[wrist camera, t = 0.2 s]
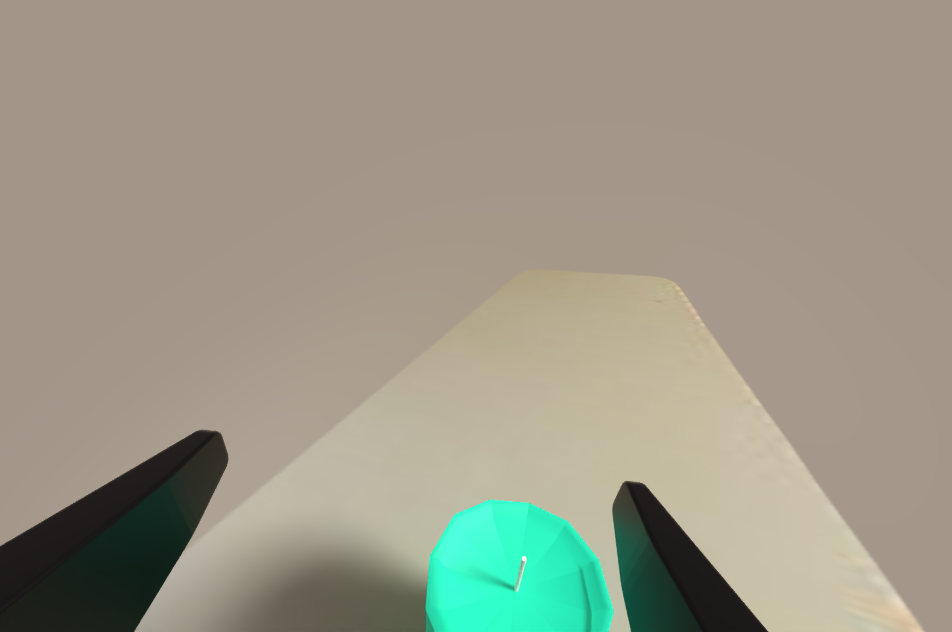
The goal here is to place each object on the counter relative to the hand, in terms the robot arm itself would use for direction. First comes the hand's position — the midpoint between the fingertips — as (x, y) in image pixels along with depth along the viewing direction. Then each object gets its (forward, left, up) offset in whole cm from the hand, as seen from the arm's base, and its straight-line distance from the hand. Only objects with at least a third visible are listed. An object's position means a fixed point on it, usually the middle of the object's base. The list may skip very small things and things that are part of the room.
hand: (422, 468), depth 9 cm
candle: (+1, -3, -17) cm, 17 cm away
